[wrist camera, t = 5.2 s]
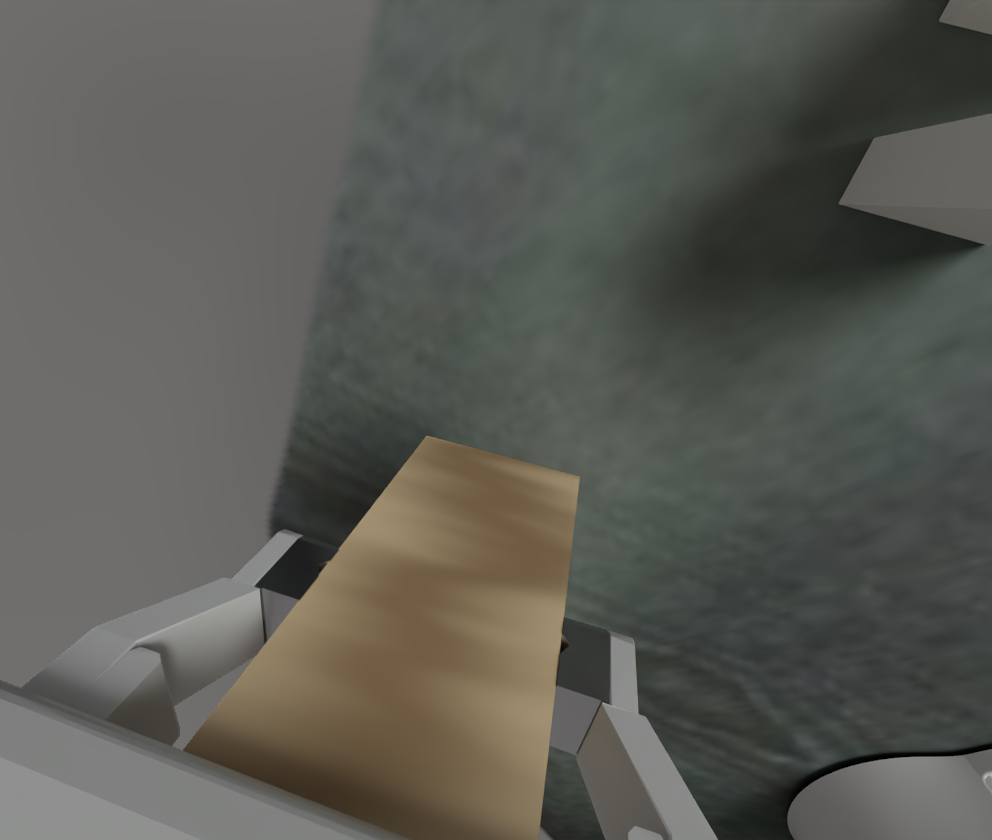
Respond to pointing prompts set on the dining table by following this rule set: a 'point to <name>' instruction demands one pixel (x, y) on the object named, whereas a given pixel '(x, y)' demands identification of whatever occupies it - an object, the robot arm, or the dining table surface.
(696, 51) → the dining table surface
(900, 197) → the domino
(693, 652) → the dining table surface
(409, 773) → the domino
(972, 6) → the domino
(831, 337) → the dining table surface
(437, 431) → the dining table surface
